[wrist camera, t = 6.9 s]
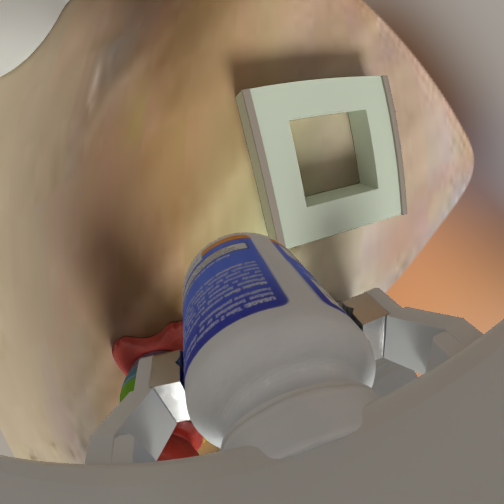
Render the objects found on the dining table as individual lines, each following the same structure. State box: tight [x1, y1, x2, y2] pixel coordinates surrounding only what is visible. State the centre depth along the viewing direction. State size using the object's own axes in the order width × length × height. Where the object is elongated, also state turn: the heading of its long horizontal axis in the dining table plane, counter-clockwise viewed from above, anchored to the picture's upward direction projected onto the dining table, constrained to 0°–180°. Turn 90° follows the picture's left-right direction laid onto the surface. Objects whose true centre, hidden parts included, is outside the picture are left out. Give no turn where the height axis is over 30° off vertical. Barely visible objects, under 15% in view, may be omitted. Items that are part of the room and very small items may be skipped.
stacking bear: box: [112, 321, 206, 461], centre depth 24 cm, size 11×10×18 cm
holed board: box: [235, 76, 407, 249], centre depth 25 cm, size 14×14×4 cm
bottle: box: [337, 301, 418, 397], centre depth 25 cm, size 7×7×20 cm
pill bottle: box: [183, 233, 381, 459], centre depth 9 cm, size 5×5×10 cm
